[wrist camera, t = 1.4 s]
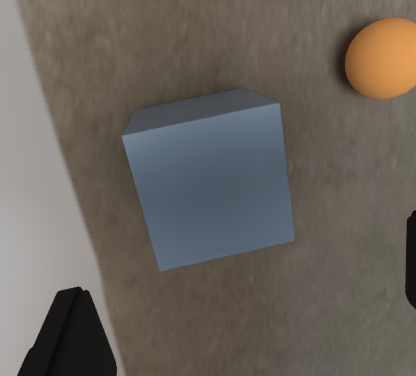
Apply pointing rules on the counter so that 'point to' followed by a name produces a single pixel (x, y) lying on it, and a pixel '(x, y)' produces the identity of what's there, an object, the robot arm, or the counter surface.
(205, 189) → the slate blue square block
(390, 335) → the counter surface
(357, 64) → the ball
